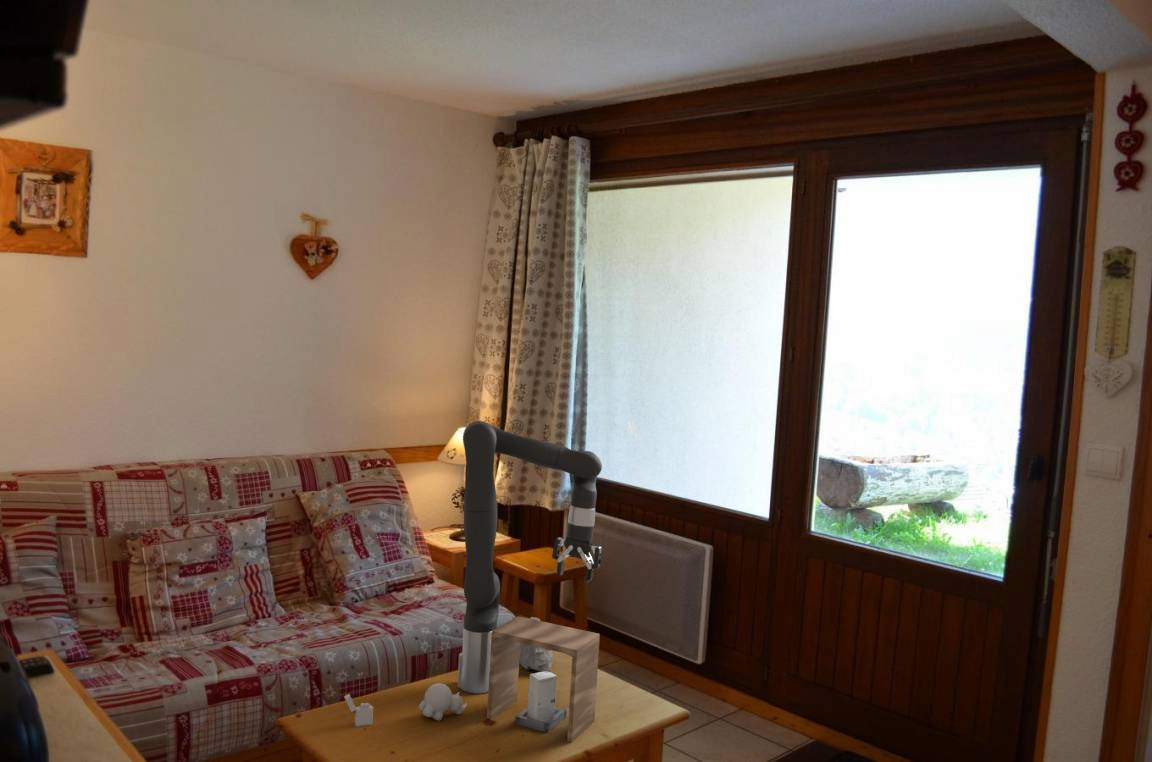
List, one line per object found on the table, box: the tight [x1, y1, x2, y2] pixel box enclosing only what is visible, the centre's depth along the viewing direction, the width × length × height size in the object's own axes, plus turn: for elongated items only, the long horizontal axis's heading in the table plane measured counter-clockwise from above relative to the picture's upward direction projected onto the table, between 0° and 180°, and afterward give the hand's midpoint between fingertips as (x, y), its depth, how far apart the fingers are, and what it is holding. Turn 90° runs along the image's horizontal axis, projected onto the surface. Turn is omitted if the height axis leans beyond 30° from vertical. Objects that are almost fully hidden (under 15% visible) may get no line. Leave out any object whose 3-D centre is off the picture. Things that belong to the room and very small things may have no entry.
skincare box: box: [527, 671, 557, 722], centre depth 233 cm, size 6×4×12 cm
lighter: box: [343, 693, 374, 727], centre depth 224 cm, size 7×2×8 cm, turn 113°
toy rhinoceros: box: [417, 682, 467, 721], centre depth 232 cm, size 7×12×8 cm, turn 114°
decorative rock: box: [519, 616, 554, 672], centre depth 268 cm, size 16×7×15 cm, turn 31°
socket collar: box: [514, 706, 567, 734], centre depth 233 cm, size 9×11×2 cm
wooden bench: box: [486, 615, 601, 744], centre depth 232 cm, size 24×14×24 cm, turn 65°
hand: (574, 578), depth 253 cm, fingers open, 8 cm apart
